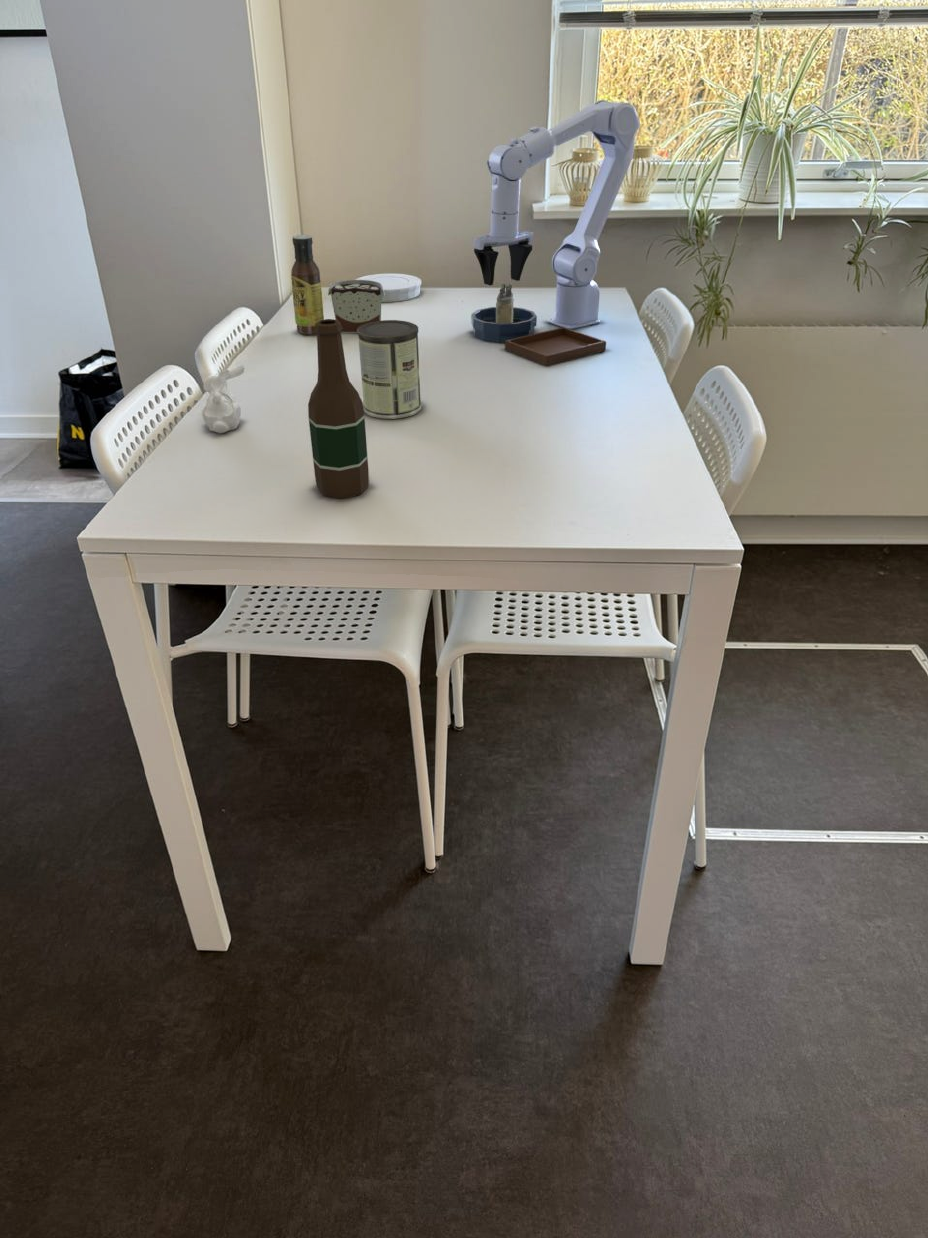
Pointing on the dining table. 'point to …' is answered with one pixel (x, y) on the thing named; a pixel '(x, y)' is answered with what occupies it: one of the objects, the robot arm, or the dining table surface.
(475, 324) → the bowl
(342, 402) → the beer bottle
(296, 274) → the sauce bottle
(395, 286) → the lid
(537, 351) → the tray
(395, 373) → the coffee can
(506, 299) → the beige tall upright piece
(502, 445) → the dining table surface
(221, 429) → the rabbit figurine
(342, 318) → the food container
